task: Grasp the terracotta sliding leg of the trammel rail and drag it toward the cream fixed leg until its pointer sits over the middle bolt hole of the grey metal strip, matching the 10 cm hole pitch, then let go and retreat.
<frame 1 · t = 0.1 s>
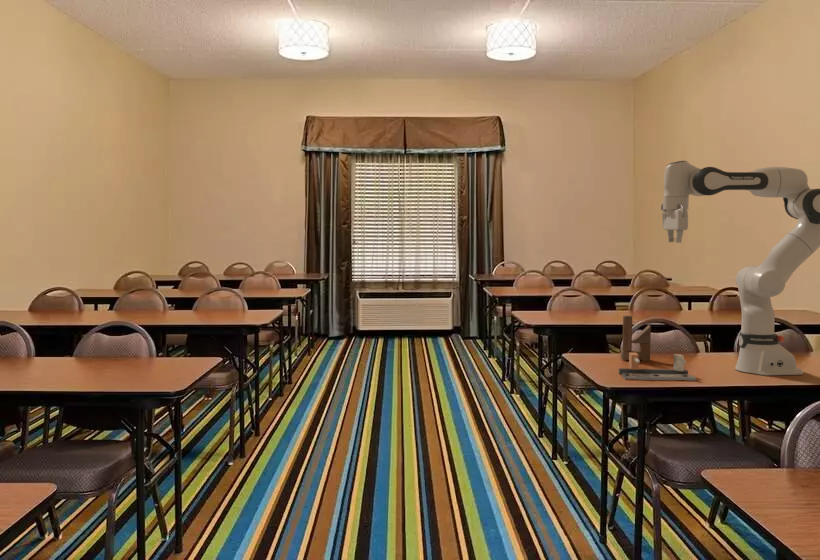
hand: (674, 242, 262), 48 cm above the table, tool pointing down, fingers open, 8 cm apart
rail: (652, 374, 256), on the table
hole strip: (658, 378, 249), on the table
brown angular bracket: (635, 360, 284), on the table
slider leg: (635, 362, 254), point 5 cm above the table, slide at 7.0 cm
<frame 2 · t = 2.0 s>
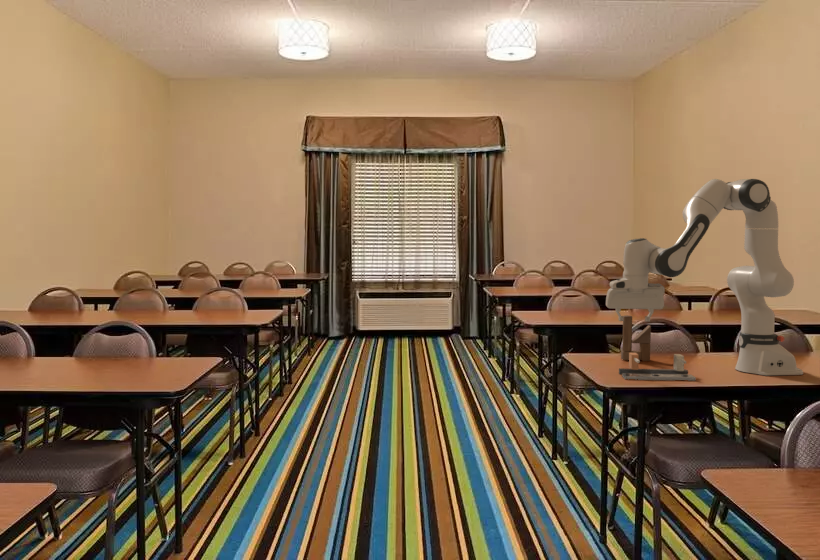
hand: (634, 321, 256), 19 cm above the table, tool pointing down, fingers open, 8 cm apart
nothing on the table moved.
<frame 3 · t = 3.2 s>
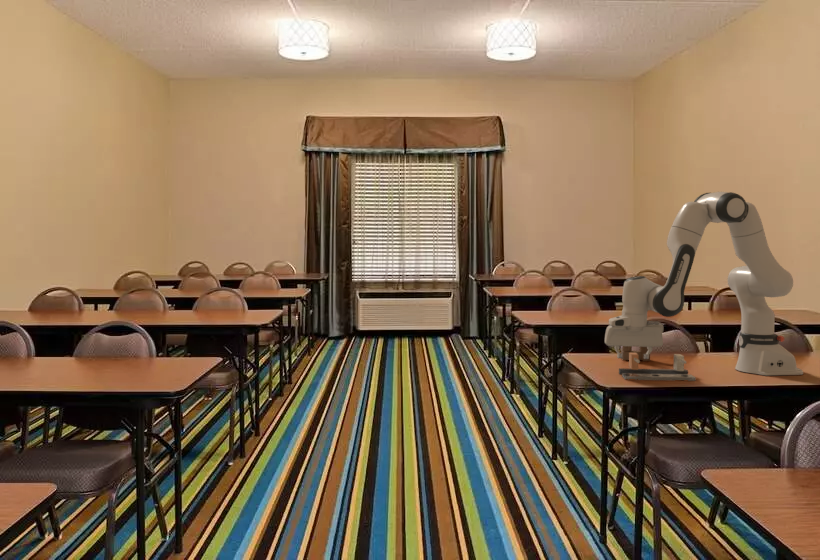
hand: (633, 358, 256), 6 cm above the table, tool pointing down, fingers open, 8 cm apart
nothing on the table moved.
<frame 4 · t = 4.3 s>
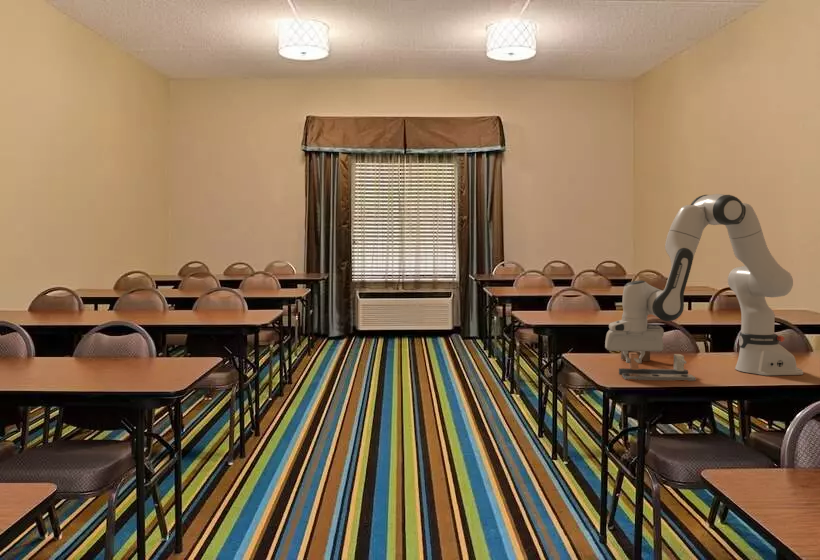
hand: (633, 362, 257), 4 cm above the table, tool pointing down, fingers closed on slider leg, 2 cm apart
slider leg: (635, 362, 254), point 5 cm above the table, slide at 7.0 cm, touching gripper
everything else where it was.
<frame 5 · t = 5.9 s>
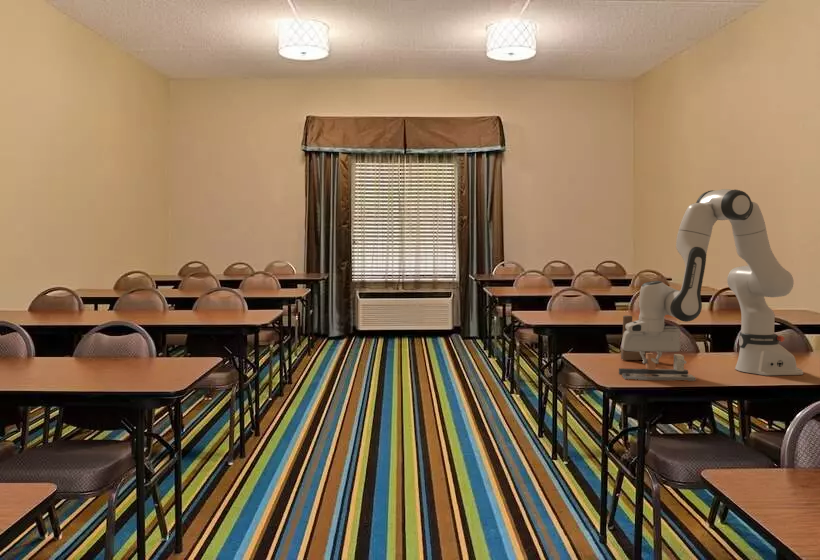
hand: (650, 363, 256), 4 cm above the table, tool pointing down, fingers closed on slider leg, 2 cm apart
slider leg: (652, 362, 253), point 5 cm above the table, slide at 1.0 cm, touching gripper
everything else where it was.
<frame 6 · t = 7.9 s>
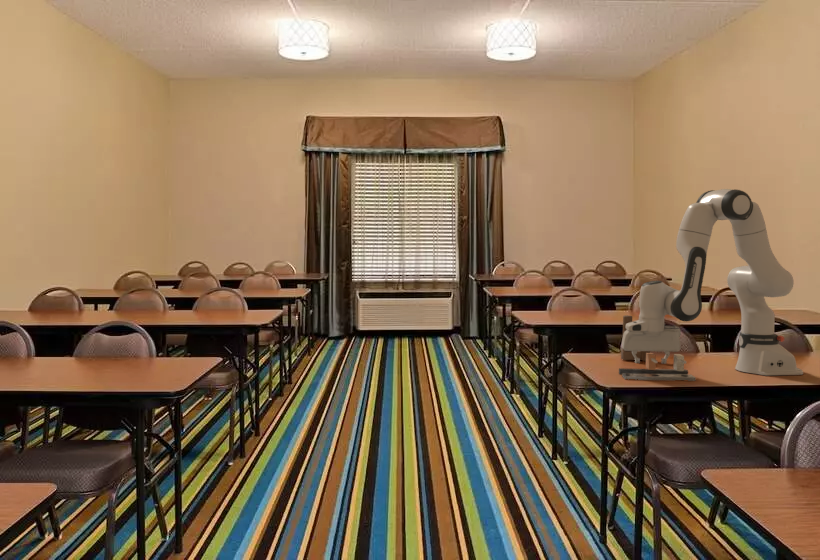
hand: (650, 363, 256), 4 cm above the table, tool pointing down, fingers open, 8 cm apart
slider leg: (652, 362, 253), point 5 cm above the table, slide at 0.9 cm
everything else where it was.
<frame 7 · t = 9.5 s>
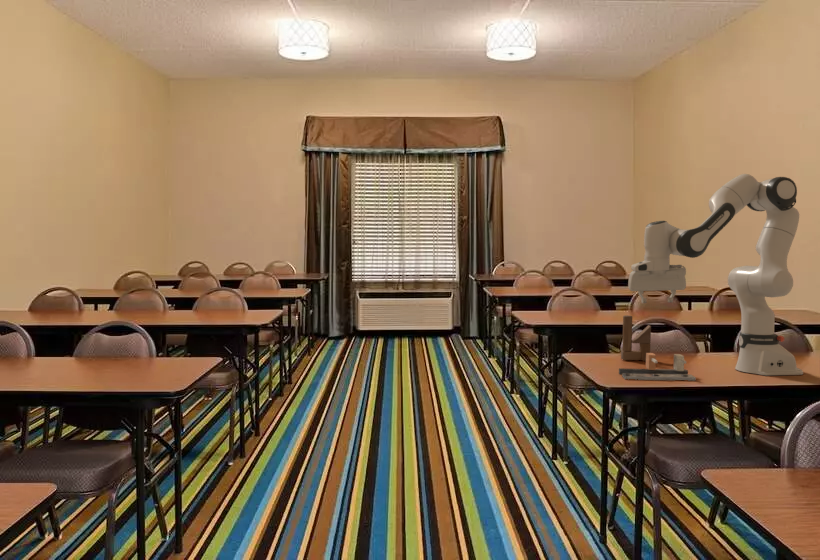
hand: (657, 302, 260), 26 cm above the table, tool pointing down, fingers open, 8 cm apart
nothing on the table moved.
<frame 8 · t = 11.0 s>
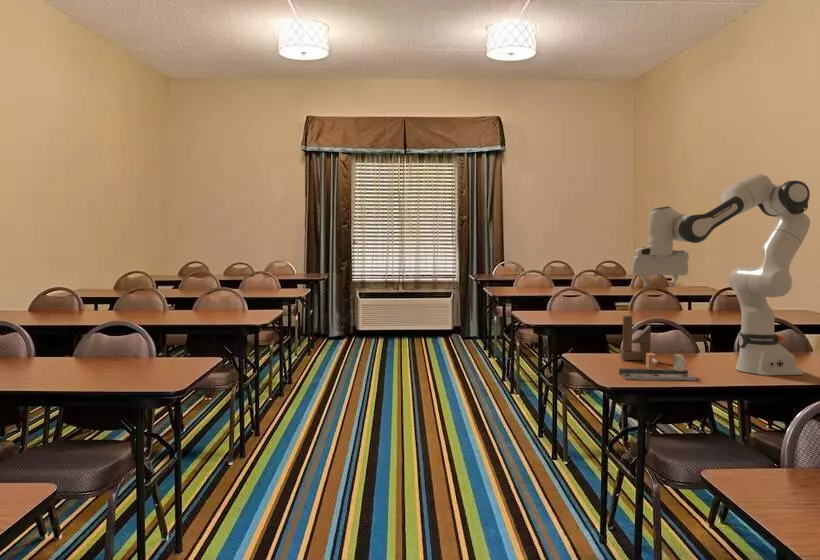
hand: (659, 287, 264), 31 cm above the table, tool pointing down, fingers open, 8 cm apart
nothing on the table moved.
at the end: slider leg slide at 0.9 cm; the gripper is holding nothing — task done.
